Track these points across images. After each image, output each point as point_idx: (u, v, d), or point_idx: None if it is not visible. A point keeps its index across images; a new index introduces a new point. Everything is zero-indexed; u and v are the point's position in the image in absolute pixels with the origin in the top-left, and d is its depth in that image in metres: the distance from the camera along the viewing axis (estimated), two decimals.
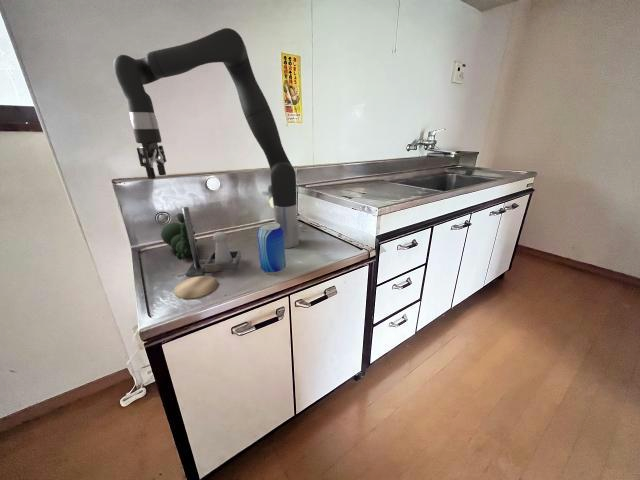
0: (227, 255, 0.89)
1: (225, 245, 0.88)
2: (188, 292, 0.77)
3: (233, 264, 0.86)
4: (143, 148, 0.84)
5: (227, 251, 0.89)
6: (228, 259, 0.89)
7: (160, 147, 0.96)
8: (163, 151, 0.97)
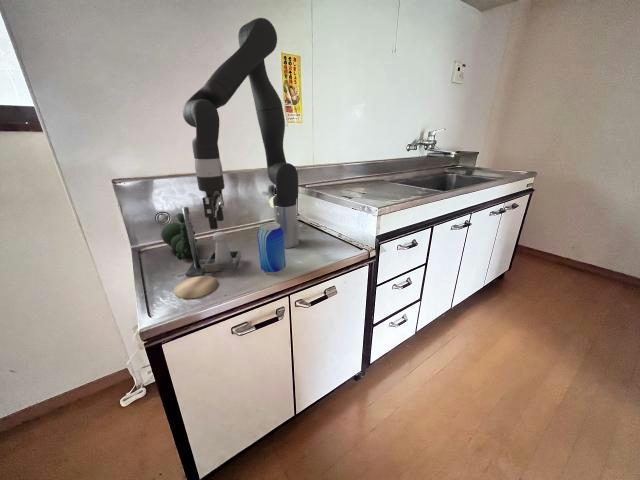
0: (227, 255, 0.89)
1: (225, 245, 0.88)
2: (188, 292, 0.77)
3: (233, 264, 0.86)
4: (209, 199, 0.76)
5: (227, 251, 0.89)
6: (228, 259, 0.89)
7: (219, 191, 0.87)
8: (222, 195, 0.89)
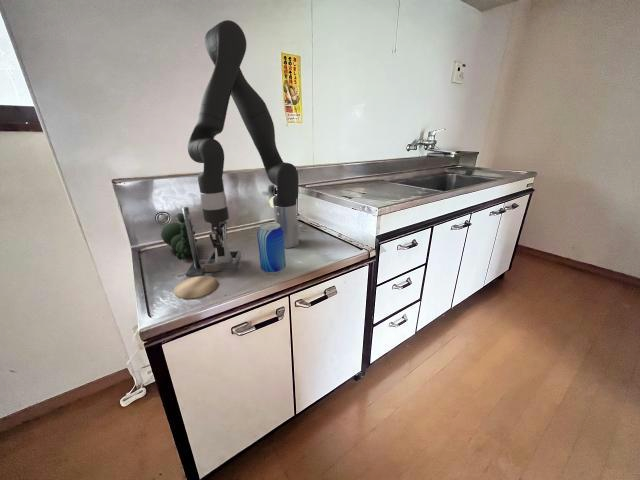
0: (227, 255, 0.89)
1: (225, 245, 0.88)
2: (188, 292, 0.77)
3: (233, 264, 0.86)
4: (216, 236, 0.80)
5: (227, 251, 0.89)
6: (228, 259, 0.89)
7: (224, 223, 0.91)
8: (226, 227, 0.92)
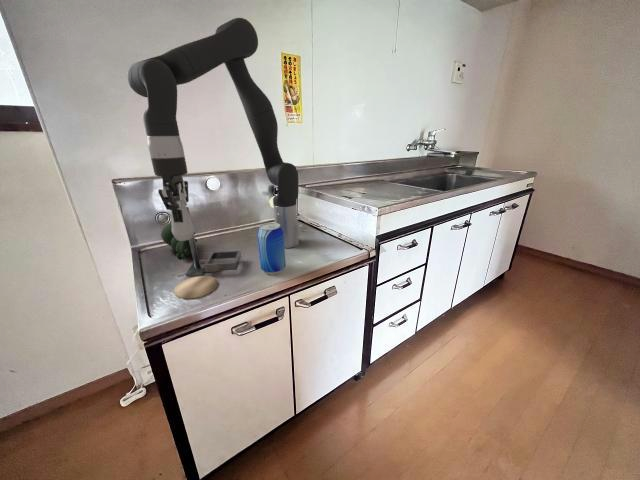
0: (186, 221, 0.71)
1: (183, 208, 0.70)
2: (188, 292, 0.77)
3: (233, 264, 0.86)
4: (167, 192, 0.63)
5: (186, 216, 0.71)
6: (188, 227, 0.71)
7: (185, 182, 0.73)
8: (187, 188, 0.74)
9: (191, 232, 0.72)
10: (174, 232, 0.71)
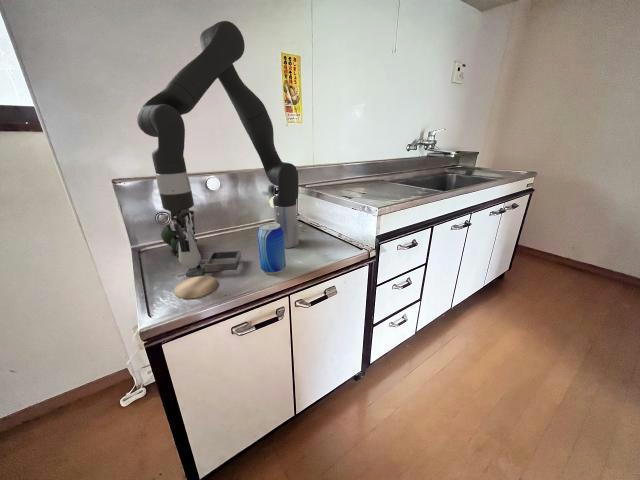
0: (193, 250, 0.74)
1: (190, 238, 0.73)
2: (188, 292, 0.77)
3: (233, 264, 0.86)
4: (175, 226, 0.66)
5: (193, 246, 0.74)
6: (194, 256, 0.74)
7: (191, 212, 0.77)
8: (193, 217, 0.77)
9: (197, 260, 0.76)
10: (181, 261, 0.74)
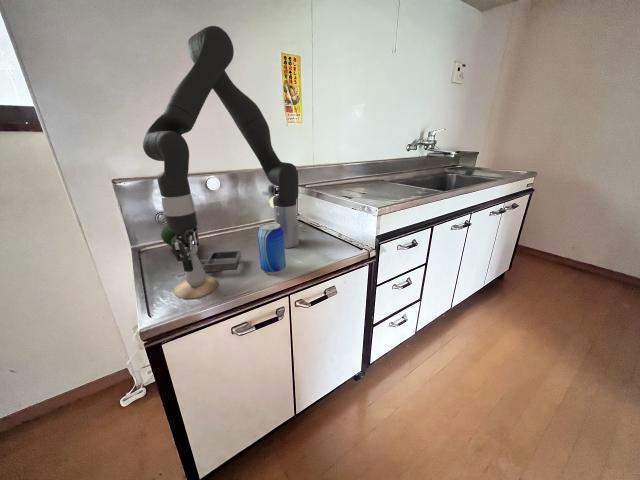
0: (198, 270, 0.78)
1: (196, 259, 0.77)
2: (188, 292, 0.77)
3: (233, 264, 0.86)
4: (179, 245, 0.68)
5: (198, 266, 0.77)
6: (200, 275, 0.78)
7: (194, 229, 0.79)
8: (197, 233, 0.80)
9: (203, 279, 0.79)
10: (188, 280, 0.77)
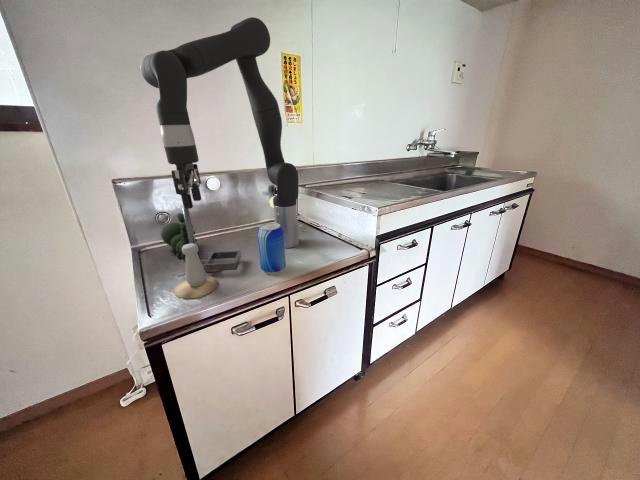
0: (199, 270, 0.78)
1: (196, 259, 0.77)
2: (188, 292, 0.77)
3: (233, 264, 0.86)
4: (180, 172, 0.65)
5: (199, 265, 0.78)
6: (201, 275, 0.78)
7: (194, 166, 0.77)
8: (198, 171, 0.78)
9: (203, 279, 0.79)
10: (188, 280, 0.78)
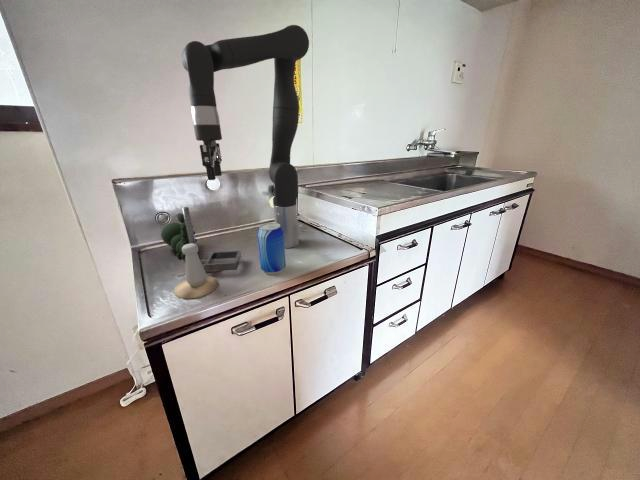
0: (199, 270, 0.78)
1: (196, 259, 0.77)
2: (188, 292, 0.77)
3: (233, 264, 0.86)
4: (207, 146, 0.76)
5: (199, 265, 0.78)
6: (201, 275, 0.78)
7: (217, 145, 0.87)
8: (219, 149, 0.89)
9: (203, 279, 0.79)
10: (188, 280, 0.78)
